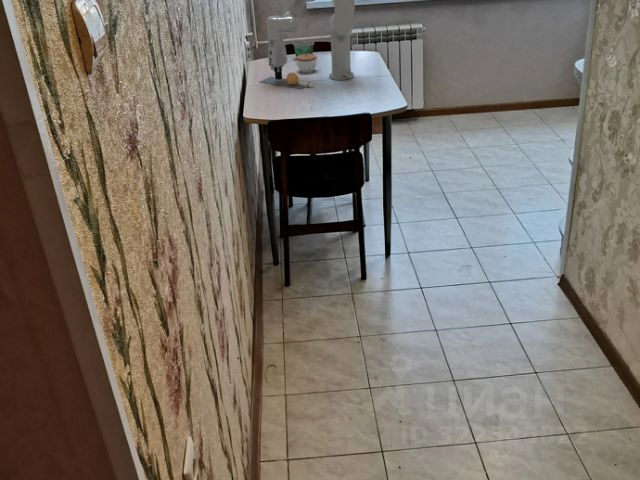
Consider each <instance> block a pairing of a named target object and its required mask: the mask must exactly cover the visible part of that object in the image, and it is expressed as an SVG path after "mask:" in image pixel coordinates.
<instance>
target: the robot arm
mask: <svg viewBox="0 0 640 480" xmlns="http://www.w3.org/2000/svg"><path fill="white" fill-rule="evenodd" d="M308 1H309V0H288V1H287V3H286V6H285V8H284V11H283V13H282V15H281V16H280V15H270V16H268V17H267V18H266V28H267V30H266V31H267V42H268V44H267V45H268V47H267V48H268V49H267V51H268V52H267V61H268V66H269V67H270V70H272V71H273V72H274V77H275V79H278V80H281V79H282V78H283V73H282V71H283V67H284V66H285V65H286V64H287V63H288V54H287V49H286V45H285V43H284V33H294V32H296V31H297V29H298V28H299V25H300V24H299V21H298V18H299V16H300V13H301V11H302V8H303V7H304V6H305V4H306V3H307V2H308ZM355 2H356V1H355V0H332V4H333V6H334V13H333V14H332V16H331V17H330V19H329V32H330V46H331V47H330V48H331V49H330V51H331V53H330V54H331V55H330V56H331V73H329V74H328V77H329V79H332V80H335V81H345V80H351V79H352V78H354V76H355V74H354V72H352V69H351V36H350V34H351V33H352V31H353V28H354V21H355V20H354V19H355V11H356V10H355V8H356V5H355Z"/></svg>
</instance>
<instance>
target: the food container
mask: <svg viewBox="0 0 640 480" xmlns="http://www.w3.org/2000/svg"><path fill="white" fill-rule="evenodd" d="M314 45H315V41H314V40H311V41H303V40H301V41H295V40H293V41H292V46H294V53H295V58H296V57H297V56H298V55H302V54H305V53H307V54H314V53H313V52H314Z"/></svg>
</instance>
